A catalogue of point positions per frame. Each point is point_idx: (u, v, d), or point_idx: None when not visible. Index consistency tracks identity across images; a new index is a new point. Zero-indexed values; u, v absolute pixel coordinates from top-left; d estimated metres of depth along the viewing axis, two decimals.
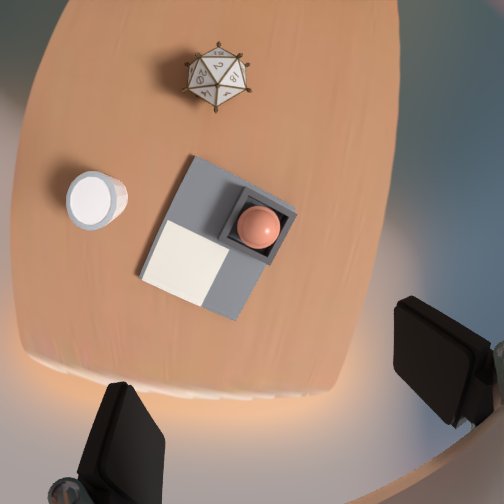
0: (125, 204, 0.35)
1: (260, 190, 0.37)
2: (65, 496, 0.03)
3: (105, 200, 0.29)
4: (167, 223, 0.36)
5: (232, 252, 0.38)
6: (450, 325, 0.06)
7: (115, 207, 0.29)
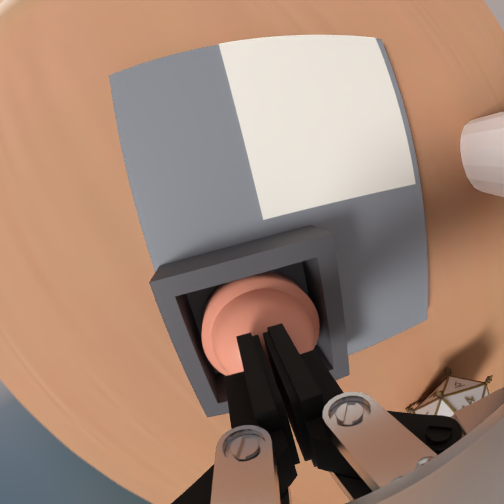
0: (471, 163, 0.14)
1: None
2: (239, 448, 0.05)
3: None
4: (412, 176, 0.14)
5: (250, 219, 0.13)
6: (292, 363, 0.07)
7: None
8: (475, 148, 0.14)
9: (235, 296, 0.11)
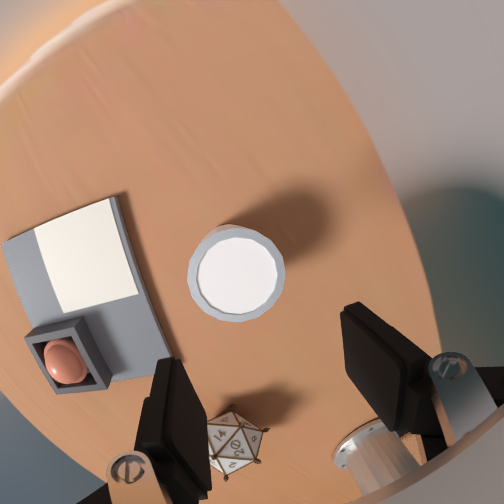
0: None
1: None
2: (126, 471, 0.04)
3: (215, 295, 0.20)
4: (135, 289, 0.25)
5: (59, 312, 0.24)
6: (387, 333, 0.07)
7: (194, 297, 0.20)
8: None
9: (50, 346, 0.22)
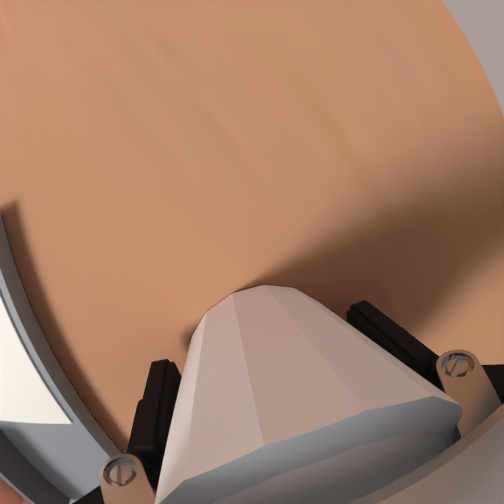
0: None
1: None
2: (118, 473, 0.04)
3: None
4: (64, 416, 0.09)
5: None
6: (394, 332, 0.07)
7: None
8: None
9: None
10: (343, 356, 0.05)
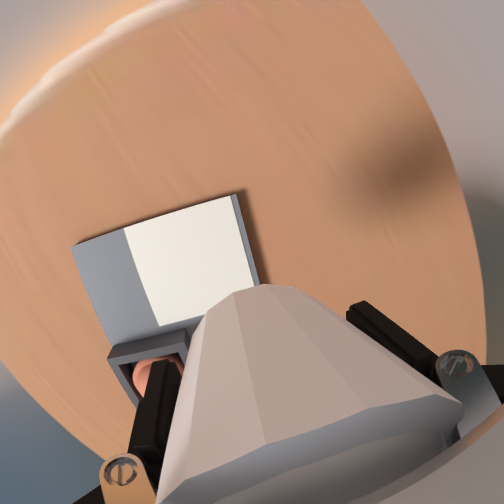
0: None
1: None
2: (119, 473, 0.04)
3: None
4: None
5: (153, 325, 0.24)
6: (394, 332, 0.07)
7: None
8: None
9: (144, 365, 0.22)
10: (344, 355, 0.05)
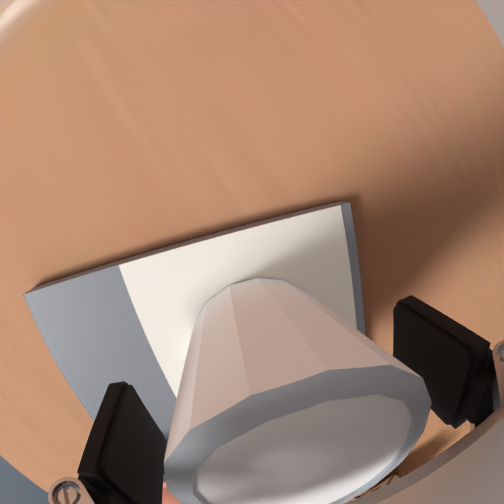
0: None
1: None
2: (65, 496, 0.03)
3: None
4: None
5: None
6: (449, 325, 0.06)
7: None
8: None
9: None
10: (317, 333, 0.06)
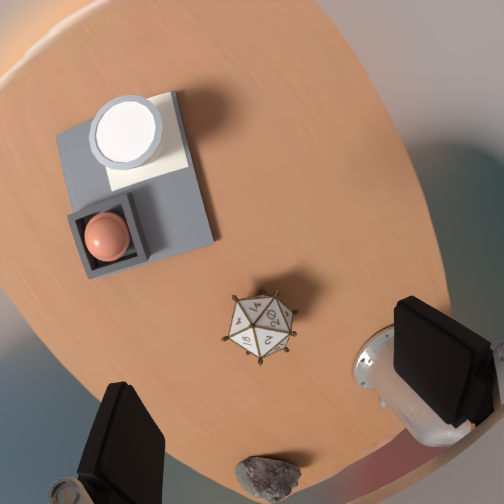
0: None
1: (134, 265, 0.31)
2: (65, 496, 0.03)
3: (107, 147, 0.21)
4: (186, 163, 0.29)
5: (107, 191, 0.28)
6: (450, 325, 0.06)
7: (92, 151, 0.21)
8: None
9: (94, 219, 0.27)
10: None
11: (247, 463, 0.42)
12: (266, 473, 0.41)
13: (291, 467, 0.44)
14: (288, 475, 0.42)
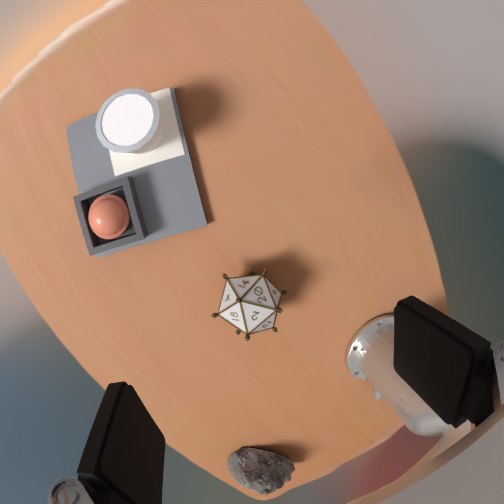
0: None
1: (133, 244, 0.33)
2: (65, 496, 0.03)
3: (111, 133, 0.24)
4: (182, 151, 0.32)
5: (110, 176, 0.31)
6: (450, 325, 0.06)
7: (98, 136, 0.24)
8: None
9: (98, 200, 0.29)
10: None
11: (240, 453, 0.43)
12: (258, 464, 0.42)
13: (284, 460, 0.45)
14: (280, 467, 0.42)
